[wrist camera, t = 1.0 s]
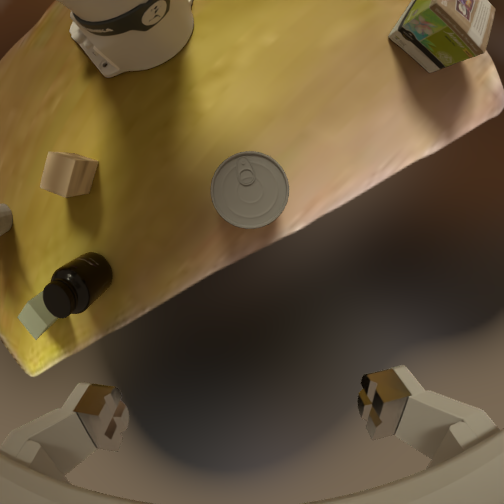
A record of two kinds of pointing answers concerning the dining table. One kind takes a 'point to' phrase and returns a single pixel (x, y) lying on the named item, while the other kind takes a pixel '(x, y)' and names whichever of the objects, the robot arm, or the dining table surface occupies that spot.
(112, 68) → the robot arm
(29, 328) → the sage block
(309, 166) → the dining table surface
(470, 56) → the tea box
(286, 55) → the dining table surface
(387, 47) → the dining table surface
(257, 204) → the canned tomato
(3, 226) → the house plant
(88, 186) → the oak block
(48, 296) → the supplement bottle
